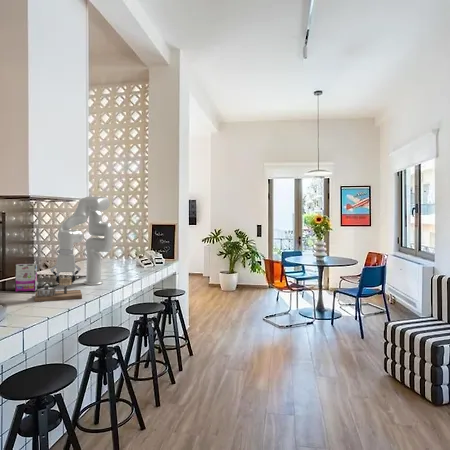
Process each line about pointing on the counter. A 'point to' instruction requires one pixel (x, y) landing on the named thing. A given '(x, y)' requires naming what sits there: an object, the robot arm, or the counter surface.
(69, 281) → the wooden gear
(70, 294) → the gear board
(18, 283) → the candy bar box
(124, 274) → the counter surface
